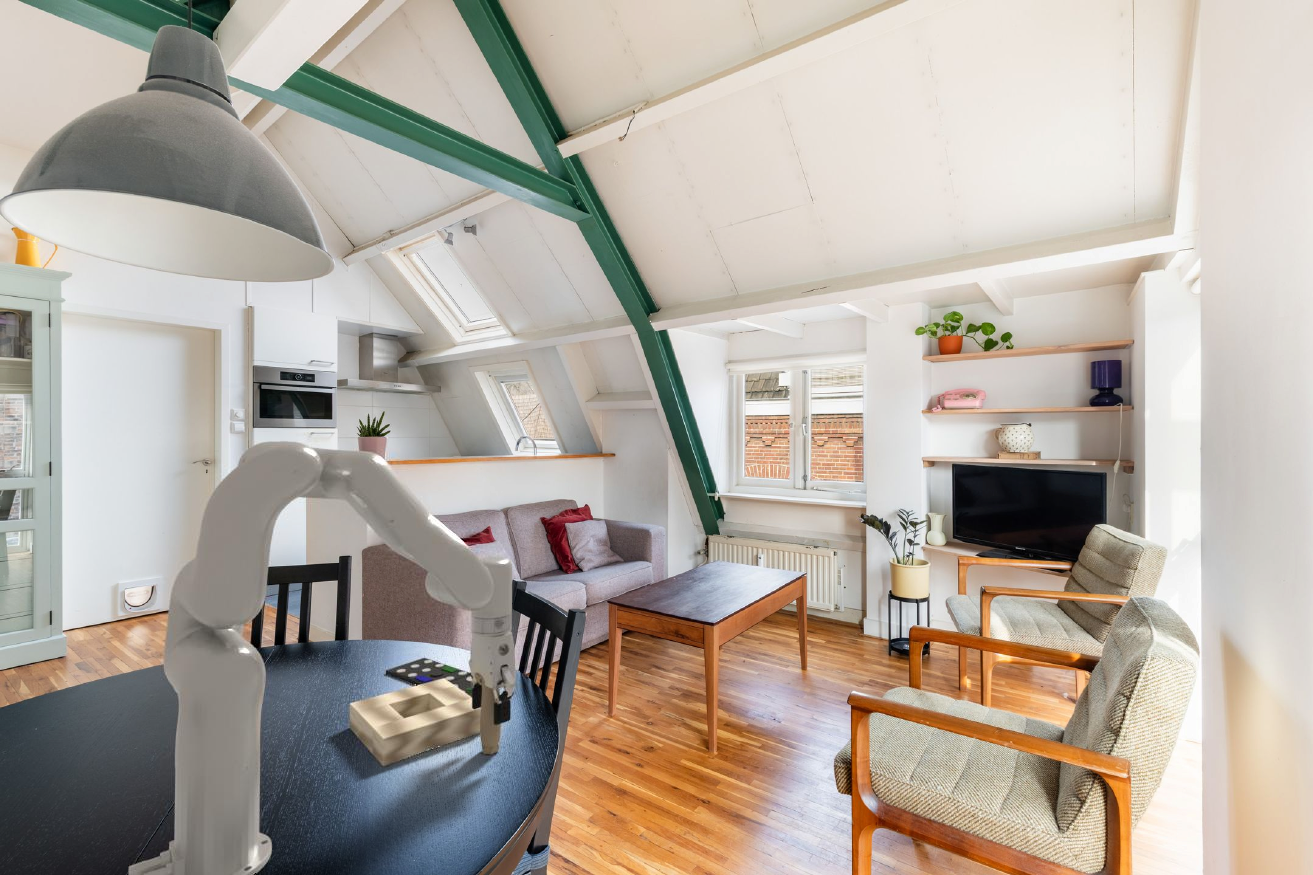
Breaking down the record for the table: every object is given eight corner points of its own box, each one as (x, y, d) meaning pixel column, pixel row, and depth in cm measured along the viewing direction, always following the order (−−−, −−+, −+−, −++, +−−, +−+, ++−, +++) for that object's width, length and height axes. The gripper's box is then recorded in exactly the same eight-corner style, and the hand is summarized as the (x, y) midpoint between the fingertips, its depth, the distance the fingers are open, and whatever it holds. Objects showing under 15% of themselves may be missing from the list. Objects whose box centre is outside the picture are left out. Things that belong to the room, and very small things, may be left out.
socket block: (383, 766, 110) (383, 738, 110) (349, 727, 125) (349, 703, 125) (485, 731, 124) (485, 706, 124) (443, 700, 138) (444, 678, 138)
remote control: (463, 705, 137) (463, 696, 137) (385, 675, 154) (385, 668, 154) (501, 689, 146) (501, 680, 146) (424, 662, 163) (424, 655, 163)
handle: (491, 761, 112) (492, 680, 112) (469, 751, 116) (470, 672, 116) (511, 750, 116) (512, 672, 116) (489, 741, 120) (490, 665, 120)
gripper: (532, 629, 112) (531, 724, 112) (488, 609, 125) (487, 694, 125) (495, 638, 107) (494, 737, 107) (453, 616, 120) (452, 705, 120)
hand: (490, 714), depth 116 cm, fingers open, 8 cm apart
